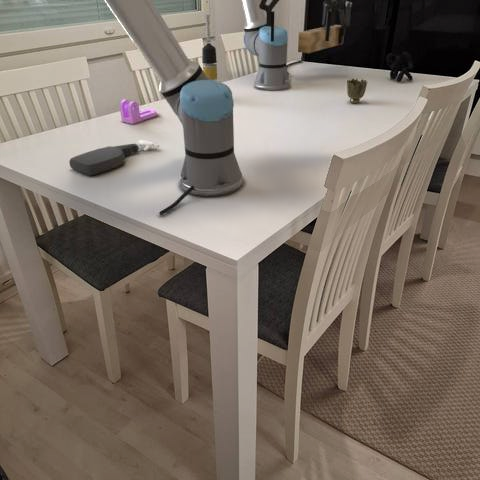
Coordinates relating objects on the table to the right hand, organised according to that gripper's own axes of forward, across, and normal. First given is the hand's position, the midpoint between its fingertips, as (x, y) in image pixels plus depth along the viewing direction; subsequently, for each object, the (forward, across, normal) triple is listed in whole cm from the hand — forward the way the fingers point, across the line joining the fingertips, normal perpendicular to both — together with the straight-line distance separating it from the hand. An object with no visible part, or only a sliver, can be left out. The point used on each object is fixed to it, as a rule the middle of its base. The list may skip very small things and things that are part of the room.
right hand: (334, 43), depth 209 cm
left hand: (-16, -44, +99) cm, 110 cm away
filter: (+13, +15, +70) cm, 73 cm away
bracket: (+13, +17, +104) cm, 106 cm away
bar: (+1, 0, +12) cm, 12 cm away
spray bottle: (+13, -8, +134) cm, 135 cm away
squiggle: (+14, -33, -4) cm, 35 cm away
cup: (+13, -34, +42) cm, 56 cm away
